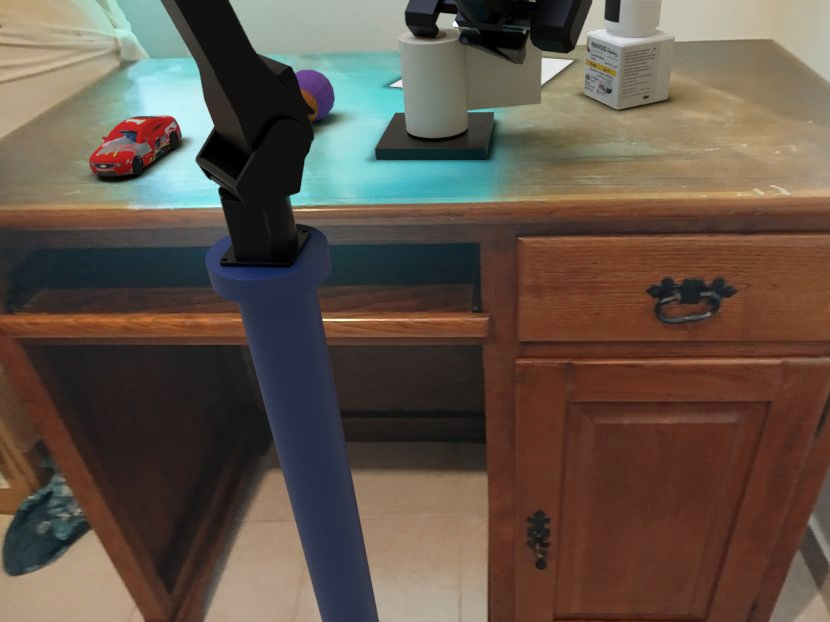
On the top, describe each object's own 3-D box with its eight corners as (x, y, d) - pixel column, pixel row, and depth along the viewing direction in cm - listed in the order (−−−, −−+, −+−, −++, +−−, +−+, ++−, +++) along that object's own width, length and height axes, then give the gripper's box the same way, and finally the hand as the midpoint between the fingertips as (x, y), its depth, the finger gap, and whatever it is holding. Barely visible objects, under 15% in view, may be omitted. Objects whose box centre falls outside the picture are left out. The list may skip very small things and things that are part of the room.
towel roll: (541, 117, 84) (543, 25, 78) (436, 147, 77) (429, 49, 71) (496, 100, 90) (494, 13, 84) (394, 126, 83) (385, 34, 77)
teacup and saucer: (514, 63, 108) (514, 34, 105) (492, 78, 102) (491, 47, 100) (461, 58, 111) (460, 30, 109) (436, 72, 105) (435, 43, 103)
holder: (485, 159, 78) (485, 148, 77) (375, 159, 79) (374, 148, 78) (494, 121, 87) (494, 111, 87) (396, 122, 89) (395, 112, 88)
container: (582, 94, 94) (588, -16, 87) (632, 85, 97) (642, -24, 89) (616, 111, 89) (626, -6, 81) (668, 100, 91) (682, -15, 84)
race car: (129, 184, 76) (117, 147, 74) (84, 182, 77) (70, 145, 75) (192, 139, 87) (183, 105, 84) (151, 137, 88) (141, 104, 85)
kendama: (220, 136, 75) (286, 67, 90) (245, 187, 79) (304, 113, 94) (272, 126, 74) (330, 58, 88) (294, 179, 77) (347, 105, 92)
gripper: (592, -121, 62) (626, 1, 76) (412, -121, 70) (473, -11, 84) (547, -5, 61) (590, 97, 75) (370, -18, 69) (438, 75, 83)
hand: (520, 60), depth 79 cm, fingers closed, pressing on towel roll
